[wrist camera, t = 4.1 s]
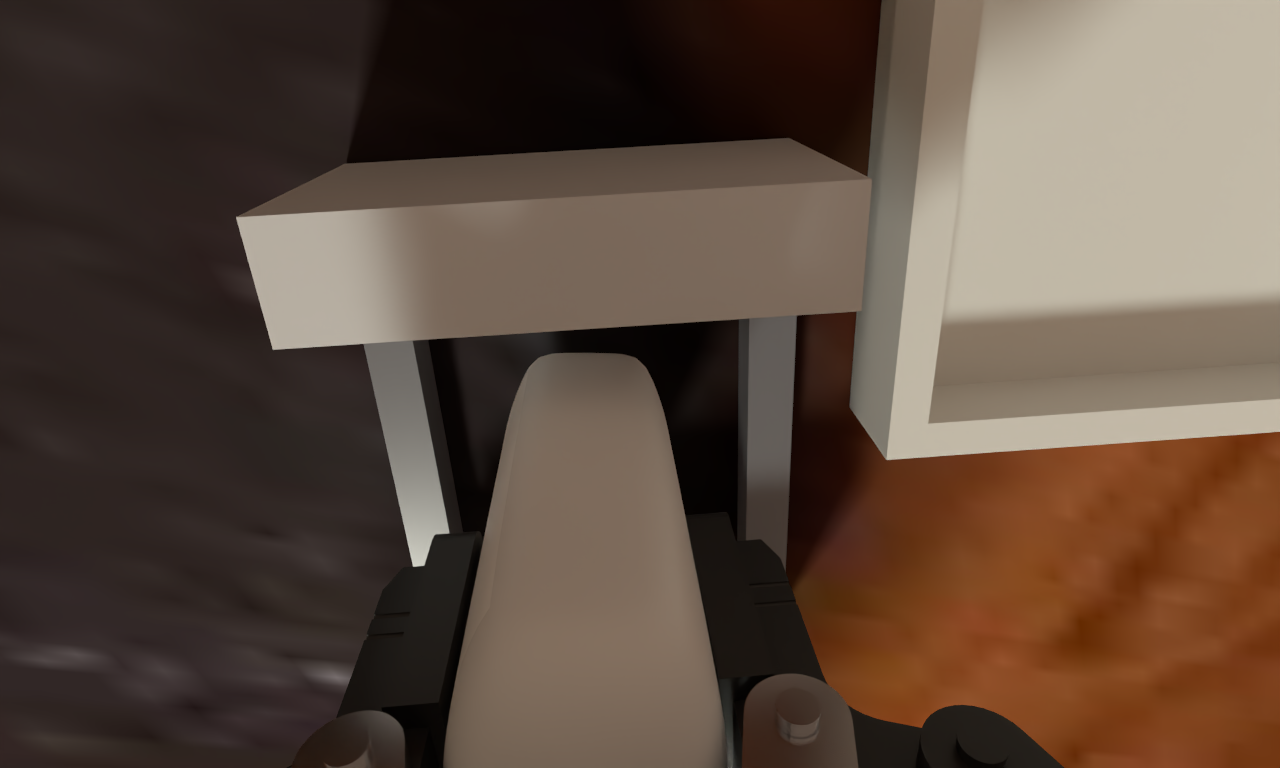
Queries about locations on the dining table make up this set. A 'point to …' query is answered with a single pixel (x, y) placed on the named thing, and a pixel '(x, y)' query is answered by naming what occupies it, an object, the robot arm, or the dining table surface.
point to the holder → (564, 279)
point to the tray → (1071, 225)
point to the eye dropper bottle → (586, 588)
